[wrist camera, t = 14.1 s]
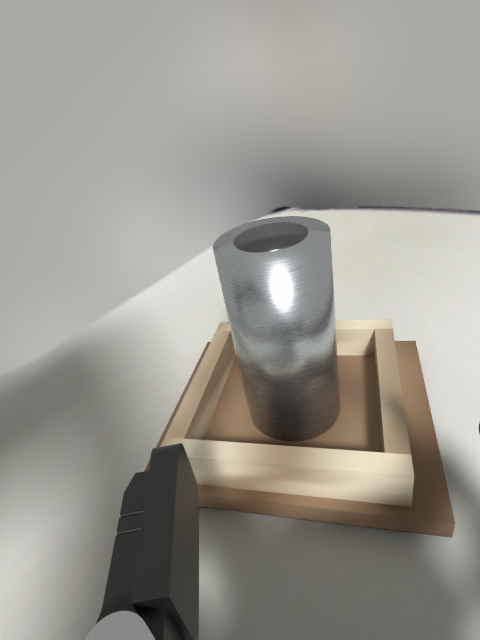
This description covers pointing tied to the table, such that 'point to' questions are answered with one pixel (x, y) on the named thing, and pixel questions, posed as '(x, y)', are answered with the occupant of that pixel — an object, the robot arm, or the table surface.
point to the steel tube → (283, 323)
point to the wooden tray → (321, 441)
